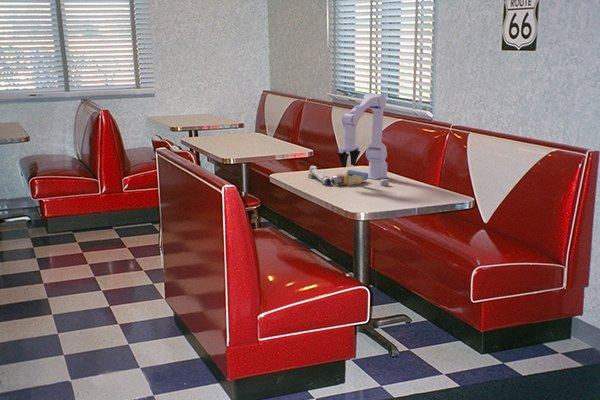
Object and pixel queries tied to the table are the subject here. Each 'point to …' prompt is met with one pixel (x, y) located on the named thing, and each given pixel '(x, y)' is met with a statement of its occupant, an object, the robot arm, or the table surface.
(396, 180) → the table surface
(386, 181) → the pvc end cap
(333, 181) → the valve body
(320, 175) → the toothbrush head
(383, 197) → the table surface
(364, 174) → the lever
